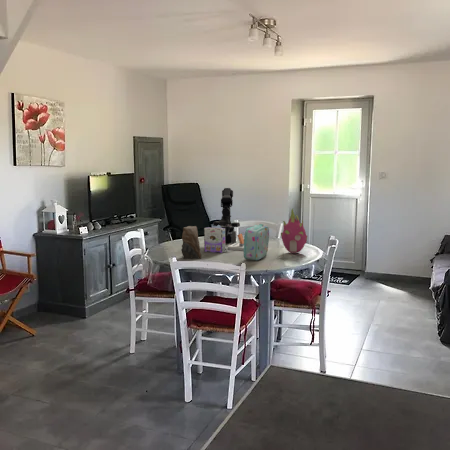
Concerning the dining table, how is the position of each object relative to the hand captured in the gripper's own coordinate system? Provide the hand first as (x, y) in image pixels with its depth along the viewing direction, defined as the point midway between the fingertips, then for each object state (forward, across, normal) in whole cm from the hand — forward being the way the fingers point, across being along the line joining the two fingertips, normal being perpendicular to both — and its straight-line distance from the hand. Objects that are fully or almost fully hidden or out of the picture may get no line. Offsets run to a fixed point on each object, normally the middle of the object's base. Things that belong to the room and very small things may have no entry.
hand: (226, 236), depth 354 cm
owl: (+8, -7, -41) cm, 42 cm away
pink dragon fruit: (+8, +51, -3) cm, 51 cm away
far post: (+8, +1, +11) cm, 14 cm away
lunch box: (+8, +32, -26) cm, 42 cm away
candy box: (+8, -1, -18) cm, 20 cm away
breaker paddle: (+5, +12, 0) cm, 14 cm away
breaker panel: (+8, +12, 0) cm, 14 cm away
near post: (+8, +2, -11) cm, 14 cm away
